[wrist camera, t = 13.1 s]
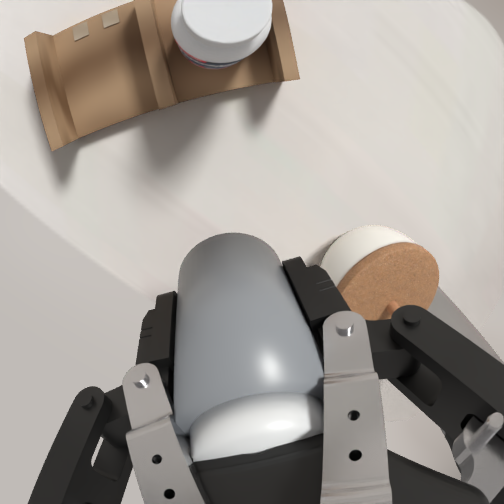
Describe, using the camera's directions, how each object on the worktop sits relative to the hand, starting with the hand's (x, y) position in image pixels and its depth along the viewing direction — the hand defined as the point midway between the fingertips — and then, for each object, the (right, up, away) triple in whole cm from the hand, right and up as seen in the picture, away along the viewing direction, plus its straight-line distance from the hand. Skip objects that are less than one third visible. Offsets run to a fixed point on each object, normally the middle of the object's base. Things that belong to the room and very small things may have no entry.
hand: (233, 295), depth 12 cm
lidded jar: (+11, +1, +18) cm, 21 cm away
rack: (-6, +16, +6) cm, 18 cm away
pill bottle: (-2, +17, +5) cm, 18 cm away
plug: (0, 0, +1) cm, 1 cm away
